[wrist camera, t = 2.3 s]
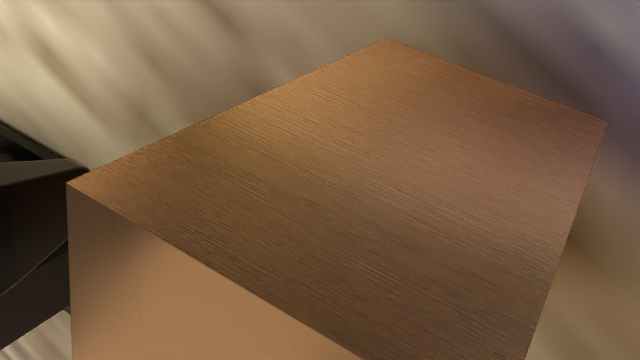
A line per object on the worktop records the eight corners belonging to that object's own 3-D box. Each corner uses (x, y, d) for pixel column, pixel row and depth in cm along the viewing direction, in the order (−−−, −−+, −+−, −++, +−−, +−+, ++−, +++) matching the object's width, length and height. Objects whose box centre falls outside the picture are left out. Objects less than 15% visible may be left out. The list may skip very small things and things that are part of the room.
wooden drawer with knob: (338, 213, 15) (-3, 519, 7) (385, 38, 12) (-52, 236, 5) (513, 302, 13) (300, 800, 6) (607, 122, 11) (444, 587, 3)
